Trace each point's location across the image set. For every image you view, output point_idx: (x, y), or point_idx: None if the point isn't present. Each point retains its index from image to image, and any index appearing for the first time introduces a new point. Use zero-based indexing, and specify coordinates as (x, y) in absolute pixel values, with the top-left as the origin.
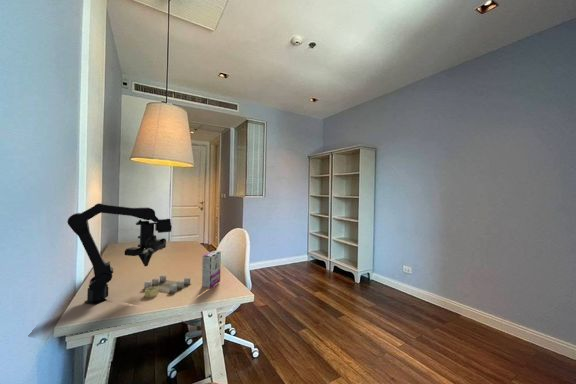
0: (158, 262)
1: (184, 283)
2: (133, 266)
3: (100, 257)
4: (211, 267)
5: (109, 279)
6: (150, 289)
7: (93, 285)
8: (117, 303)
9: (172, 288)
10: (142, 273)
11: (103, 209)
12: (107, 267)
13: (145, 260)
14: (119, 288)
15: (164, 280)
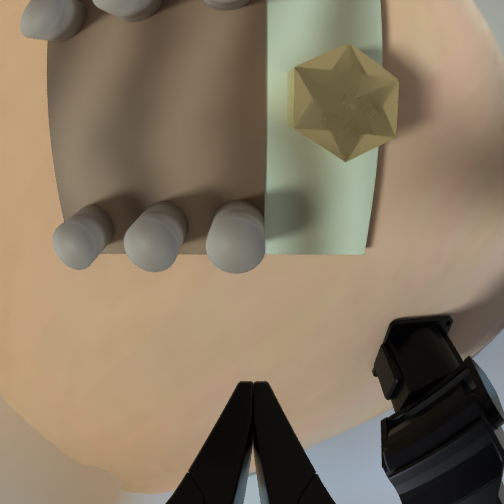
0: (10, 402)
1: (77, 18)
2: (83, 445)
3: None
4: None
5: (465, 392)
6: (366, 101)
7: (492, 387)
8: (441, 239)
9: None
10: (90, 401)
11: None
12: (502, 459)
13: (312, 472)
14: (267, 378)
15: (88, 212)
